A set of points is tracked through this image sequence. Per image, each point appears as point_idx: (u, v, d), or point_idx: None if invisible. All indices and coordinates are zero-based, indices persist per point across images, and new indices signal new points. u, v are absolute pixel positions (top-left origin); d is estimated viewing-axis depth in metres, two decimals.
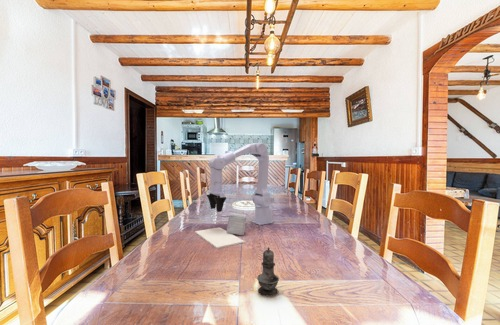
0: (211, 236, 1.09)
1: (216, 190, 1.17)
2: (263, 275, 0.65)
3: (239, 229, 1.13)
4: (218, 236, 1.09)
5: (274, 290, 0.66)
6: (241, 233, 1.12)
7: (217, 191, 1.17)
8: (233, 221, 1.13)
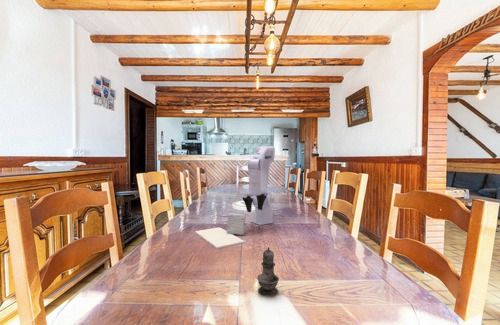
0: (211, 236, 1.09)
1: (249, 190, 1.19)
2: (263, 275, 0.65)
3: (239, 229, 1.13)
4: (218, 236, 1.09)
5: (274, 290, 0.66)
6: (241, 233, 1.13)
7: (249, 191, 1.19)
8: (233, 221, 1.13)
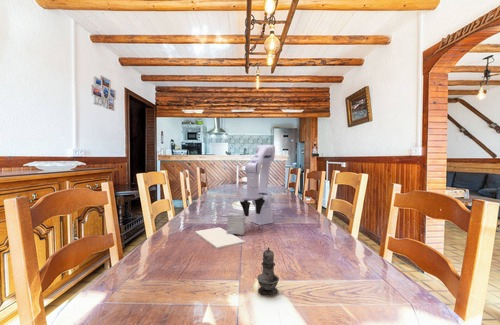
0: (211, 236, 1.09)
1: (247, 194, 1.19)
2: (263, 275, 0.65)
3: (239, 229, 1.13)
4: (218, 236, 1.09)
5: (274, 290, 0.66)
6: (241, 233, 1.13)
7: (247, 195, 1.18)
8: (233, 221, 1.13)
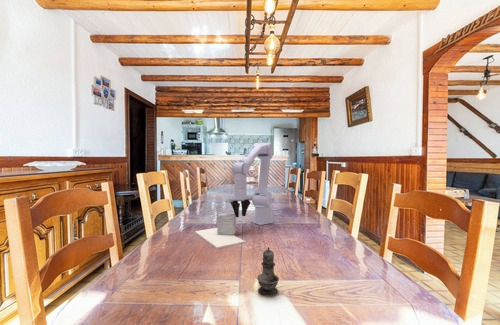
0: (211, 236, 1.09)
1: (234, 195, 1.15)
2: (263, 275, 0.65)
3: (229, 229, 1.11)
4: (218, 236, 1.09)
5: (274, 290, 0.66)
6: (231, 233, 1.11)
7: (234, 196, 1.15)
8: (222, 222, 1.11)
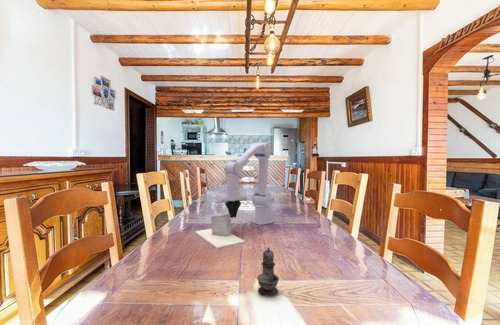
0: (211, 236, 1.09)
1: None
2: (263, 275, 0.65)
3: (223, 230, 1.10)
4: (218, 236, 1.09)
5: (274, 290, 0.66)
6: (225, 233, 1.10)
7: (226, 197, 1.12)
8: (216, 222, 1.11)
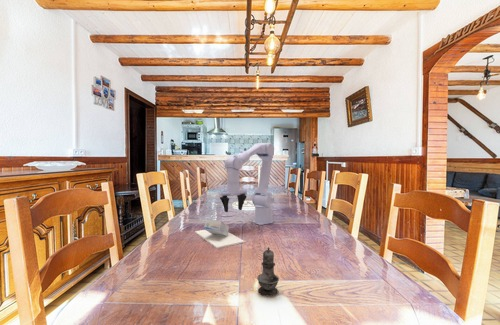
0: (211, 236, 1.09)
1: (227, 190, 1.17)
2: (263, 275, 0.65)
3: (220, 234, 1.08)
4: (218, 236, 1.09)
5: (274, 290, 0.66)
6: (224, 235, 1.09)
7: (227, 191, 1.16)
8: (211, 231, 1.07)
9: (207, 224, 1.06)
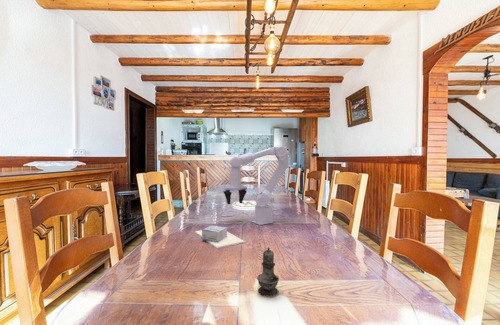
0: None
1: (230, 185, 1.34)
2: (263, 275, 0.65)
3: None
4: None
5: (274, 290, 0.66)
6: None
7: (230, 186, 1.34)
8: None
9: (204, 235, 1.04)
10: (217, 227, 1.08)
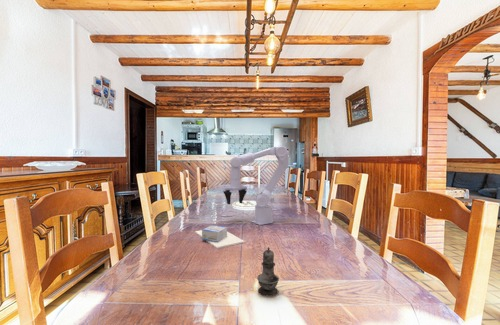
0: None
1: (230, 185, 1.34)
2: (263, 275, 0.65)
3: None
4: None
5: (274, 290, 0.66)
6: None
7: (230, 186, 1.34)
8: None
9: (204, 235, 1.04)
10: (217, 227, 1.08)
